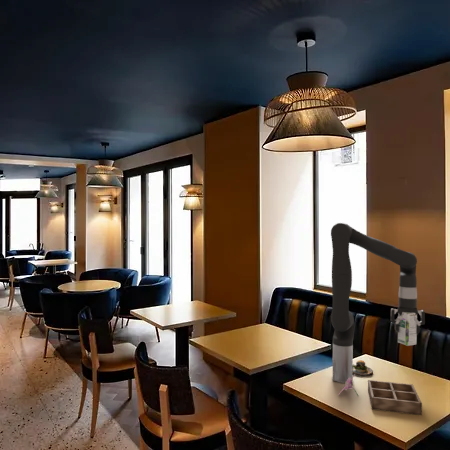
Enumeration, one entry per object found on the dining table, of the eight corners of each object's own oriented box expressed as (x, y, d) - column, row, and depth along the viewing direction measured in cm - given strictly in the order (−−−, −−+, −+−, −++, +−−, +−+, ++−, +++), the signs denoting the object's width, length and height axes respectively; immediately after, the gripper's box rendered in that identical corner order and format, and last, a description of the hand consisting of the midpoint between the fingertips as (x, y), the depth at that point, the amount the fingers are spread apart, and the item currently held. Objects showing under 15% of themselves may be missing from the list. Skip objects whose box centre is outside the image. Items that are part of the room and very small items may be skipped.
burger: (343, 372, 199) (343, 357, 198) (354, 366, 207) (354, 352, 207) (366, 379, 190) (366, 364, 190) (377, 372, 198) (377, 358, 198)
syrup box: (397, 342, 180) (397, 310, 179) (407, 341, 182) (407, 309, 181) (407, 346, 174) (407, 313, 174) (417, 344, 176) (417, 312, 176)
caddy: (371, 409, 159) (371, 397, 159) (368, 390, 177) (368, 379, 177) (421, 415, 154) (421, 403, 154) (412, 395, 172) (412, 384, 172)
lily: (352, 389, 180) (341, 370, 181) (372, 388, 171) (361, 368, 172) (338, 405, 173) (327, 385, 174) (359, 404, 164) (347, 383, 165)
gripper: (391, 297, 176) (391, 333, 176) (427, 299, 172) (426, 336, 172) (389, 294, 183) (389, 329, 183) (423, 295, 179) (422, 331, 180)
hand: (407, 332), depth 178 cm, fingers closed on syrup box, 7 cm apart
